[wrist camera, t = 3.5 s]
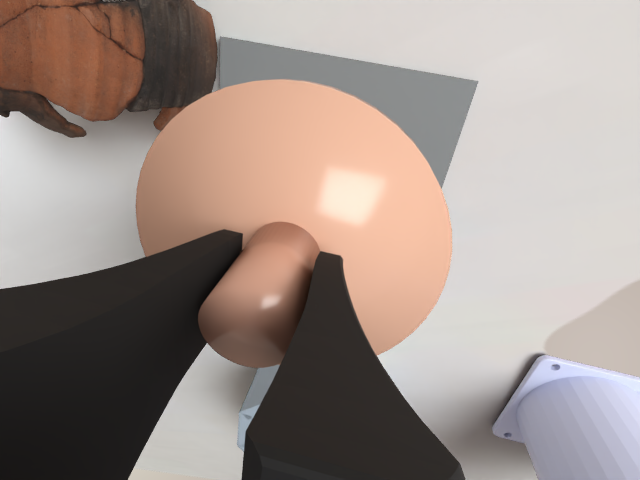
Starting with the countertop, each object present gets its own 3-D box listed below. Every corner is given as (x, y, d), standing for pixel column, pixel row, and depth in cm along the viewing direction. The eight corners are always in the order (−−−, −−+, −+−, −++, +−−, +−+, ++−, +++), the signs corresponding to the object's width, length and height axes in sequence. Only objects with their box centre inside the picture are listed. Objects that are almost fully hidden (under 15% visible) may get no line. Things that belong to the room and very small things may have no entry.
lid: (501, 112, 9) (592, 151, 5) (400, 376, 14) (408, 497, 10) (132, 51, 10) (-34, 43, 6) (163, 322, 15) (85, 414, 11)
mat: (476, 80, 15) (478, 81, 15) (404, 292, 21) (404, 296, 20) (223, 37, 16) (220, 36, 16) (220, 250, 22) (218, 252, 21)
